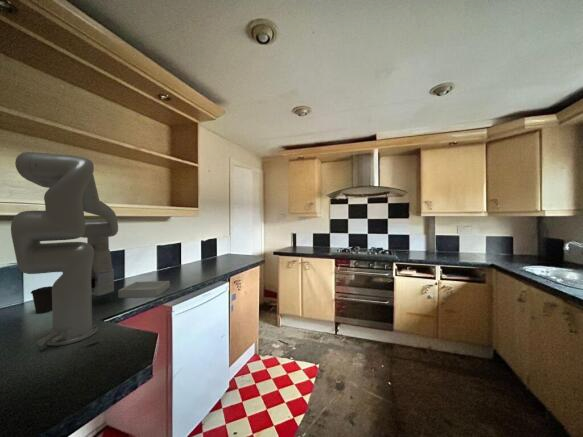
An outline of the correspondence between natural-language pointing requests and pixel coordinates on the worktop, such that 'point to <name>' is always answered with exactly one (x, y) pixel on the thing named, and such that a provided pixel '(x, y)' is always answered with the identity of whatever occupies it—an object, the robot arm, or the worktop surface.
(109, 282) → the light bulb box
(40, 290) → the coffee cup
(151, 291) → the grey tray
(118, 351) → the worktop surface
